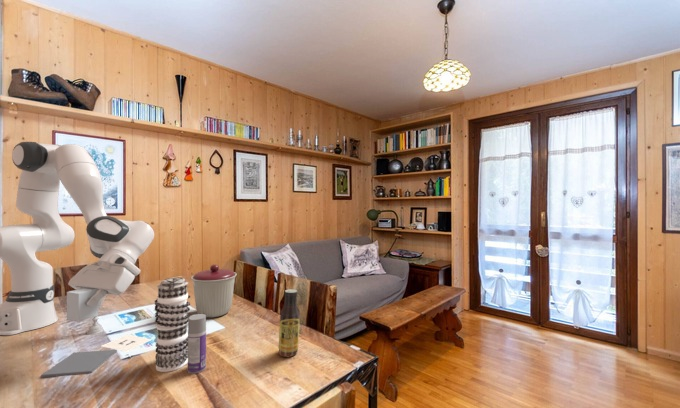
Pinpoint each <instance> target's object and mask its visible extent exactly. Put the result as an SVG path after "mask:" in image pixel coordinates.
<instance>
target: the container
mask: <svg viewBox="0 0 680 408" xmlns="http://www.w3.org/2000/svg"><path fill="white" fill-rule="evenodd" d="M188 319H189V322H188V324H187V332H188V341H187V342H188V346H187V348H188V363H187V373H188V374H191V375H193V374H199V373H202V372H203V371H205V370H206V368H207V318H206V315H205V314H198V313H197V314H192V315H189V317H188Z"/></svg>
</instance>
